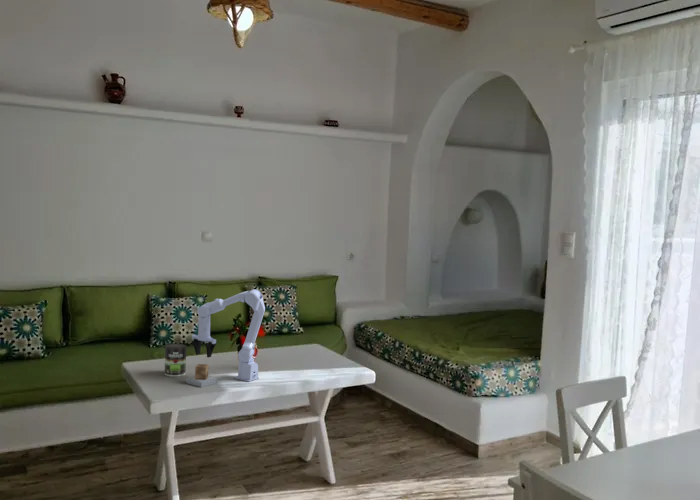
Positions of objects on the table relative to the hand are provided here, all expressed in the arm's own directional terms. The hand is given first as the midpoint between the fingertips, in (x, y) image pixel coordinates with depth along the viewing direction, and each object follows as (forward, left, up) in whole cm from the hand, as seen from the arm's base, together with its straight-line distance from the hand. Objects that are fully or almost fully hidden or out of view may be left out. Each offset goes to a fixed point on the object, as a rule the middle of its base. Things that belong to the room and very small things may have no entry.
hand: (203, 355), depth 302 cm
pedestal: (-8, +9, -10) cm, 16 cm away
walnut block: (-8, +9, -8) cm, 14 cm away
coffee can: (+12, +7, -10) cm, 17 cm away
